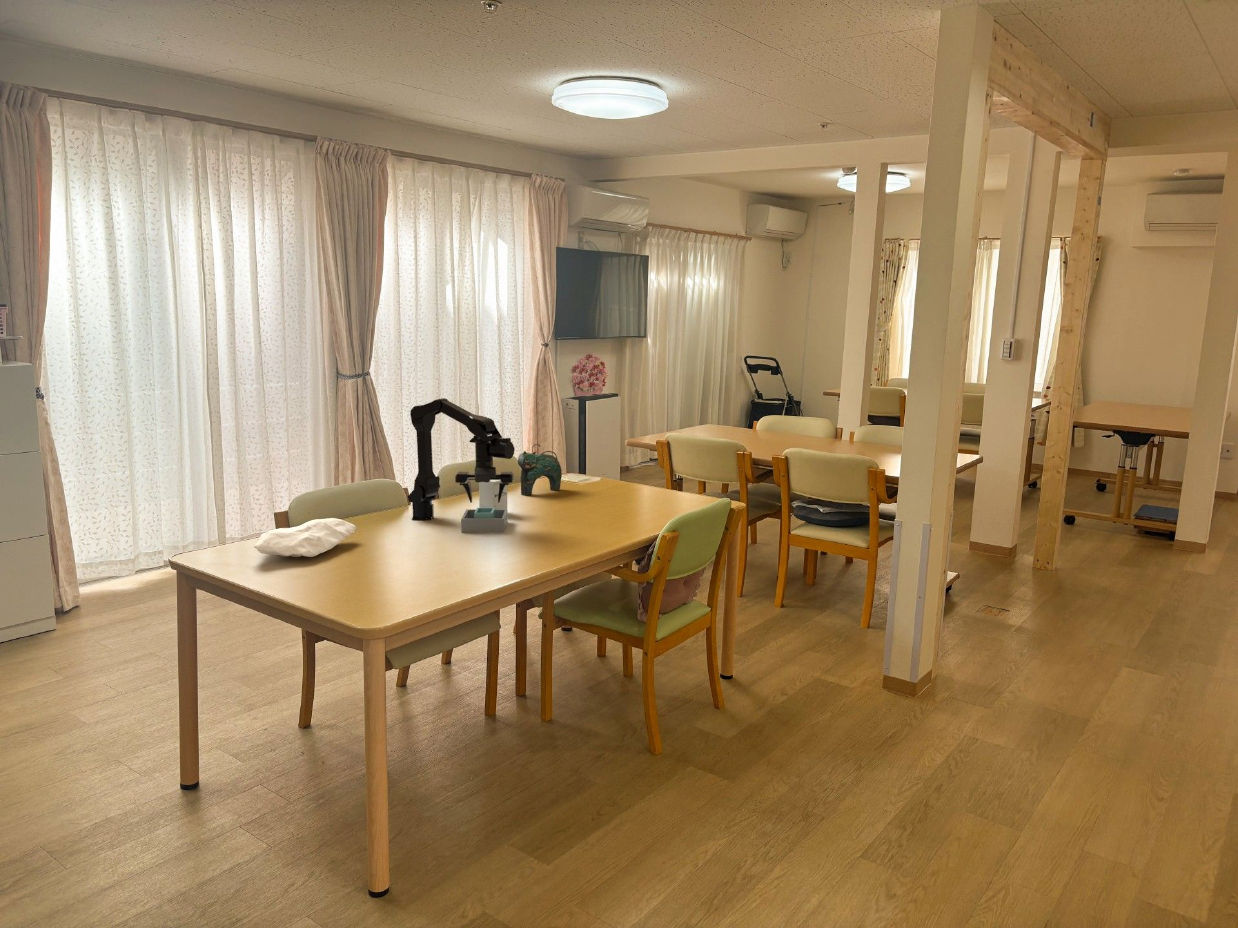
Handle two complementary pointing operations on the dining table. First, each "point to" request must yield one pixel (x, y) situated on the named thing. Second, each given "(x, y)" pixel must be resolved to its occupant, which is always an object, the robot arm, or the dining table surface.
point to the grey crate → (484, 522)
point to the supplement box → (492, 495)
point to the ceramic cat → (539, 470)
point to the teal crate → (484, 513)
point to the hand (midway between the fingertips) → (485, 502)
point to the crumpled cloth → (305, 538)
